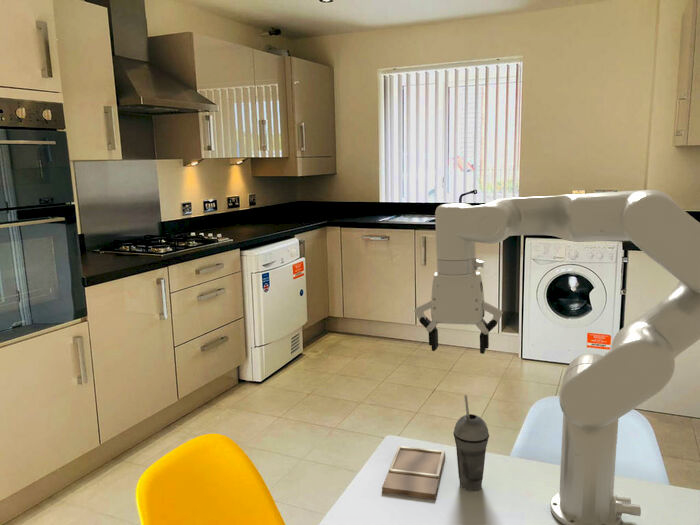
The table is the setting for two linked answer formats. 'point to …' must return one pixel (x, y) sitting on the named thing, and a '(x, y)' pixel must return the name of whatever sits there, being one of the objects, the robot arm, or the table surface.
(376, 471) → the table surface
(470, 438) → the beverage cup
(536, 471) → the table surface
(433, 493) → the walnut board
